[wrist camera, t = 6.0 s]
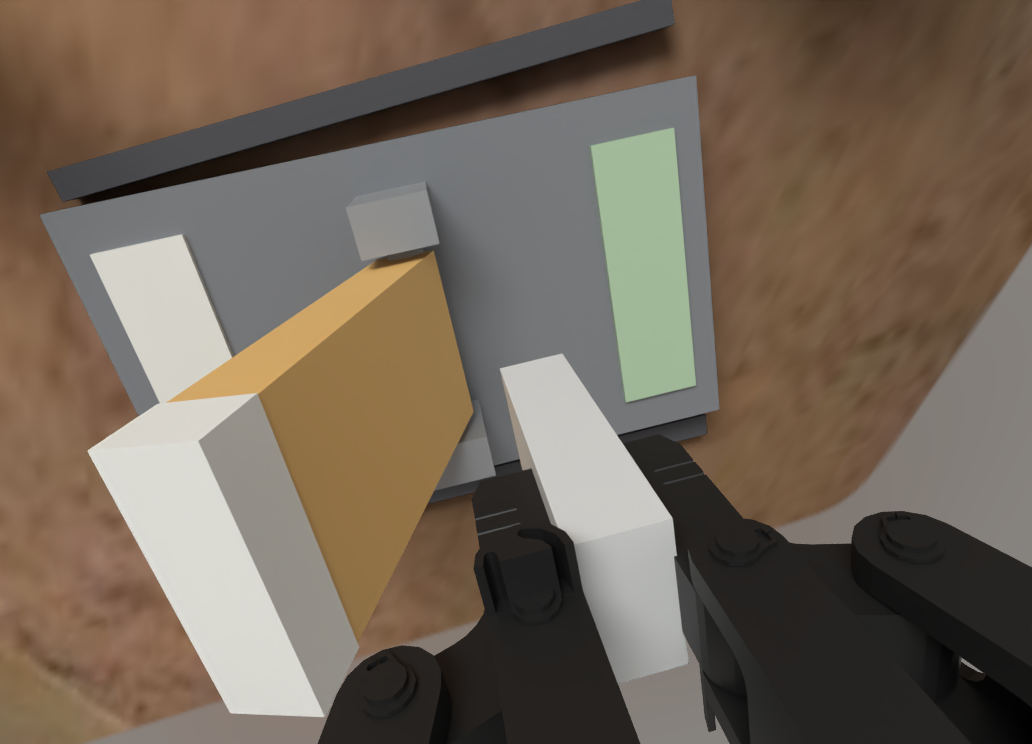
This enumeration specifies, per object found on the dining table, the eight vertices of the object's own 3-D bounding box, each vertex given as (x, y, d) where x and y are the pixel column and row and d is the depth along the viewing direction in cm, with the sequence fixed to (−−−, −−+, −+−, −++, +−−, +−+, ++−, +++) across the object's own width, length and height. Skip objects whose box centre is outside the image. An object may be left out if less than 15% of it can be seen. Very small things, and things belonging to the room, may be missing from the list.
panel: (218, 503, 27) (169, 594, 22) (79, 205, 22) (-29, 229, 17) (694, 386, 28) (757, 445, 23) (668, 80, 23) (741, 66, 18)
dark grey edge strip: (235, 539, 28) (228, 553, 27) (226, 521, 27) (219, 535, 26) (698, 424, 29) (707, 434, 28) (696, 405, 29) (705, 415, 28)
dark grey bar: (77, 198, 22) (62, 201, 21) (62, 170, 21) (46, 171, 20) (664, 28, 22) (674, 24, 22) (659, -3, 22) (670, -8, 21)
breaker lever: (427, 413, 23) (233, 718, 12) (381, 249, 21) (82, 442, 10) (480, 408, 23) (327, 722, 12) (438, 239, 20) (194, 432, 9)
